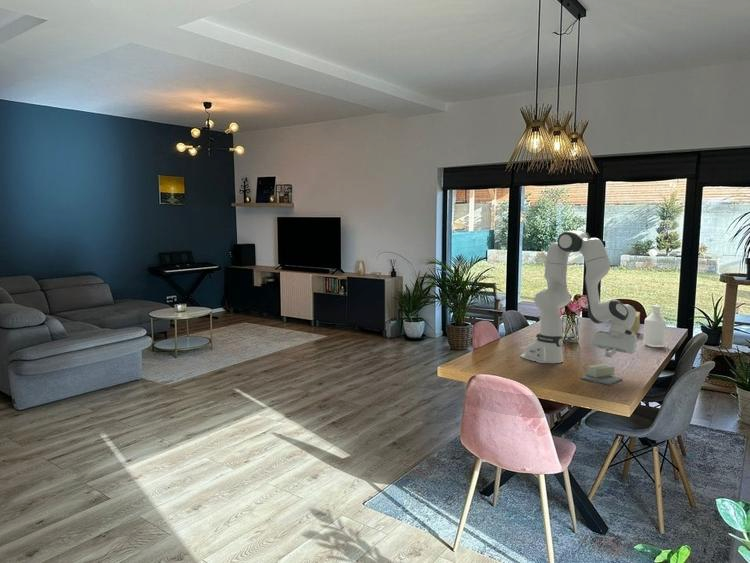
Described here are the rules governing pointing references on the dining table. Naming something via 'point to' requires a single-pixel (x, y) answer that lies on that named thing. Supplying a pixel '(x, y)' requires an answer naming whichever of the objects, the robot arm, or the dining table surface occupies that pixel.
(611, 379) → the mat
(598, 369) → the skincare box
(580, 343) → the dining table surface
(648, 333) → the bottle
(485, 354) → the dining table surface
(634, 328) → the cheese
